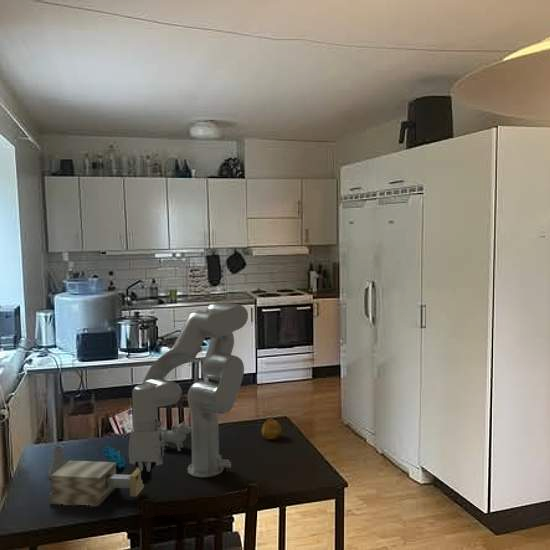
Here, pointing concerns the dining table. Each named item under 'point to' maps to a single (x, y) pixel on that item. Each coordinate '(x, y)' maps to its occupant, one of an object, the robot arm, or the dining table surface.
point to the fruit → (271, 429)
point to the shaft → (126, 482)
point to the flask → (56, 460)
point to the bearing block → (81, 483)
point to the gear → (114, 456)
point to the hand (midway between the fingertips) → (146, 481)
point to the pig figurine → (176, 435)
